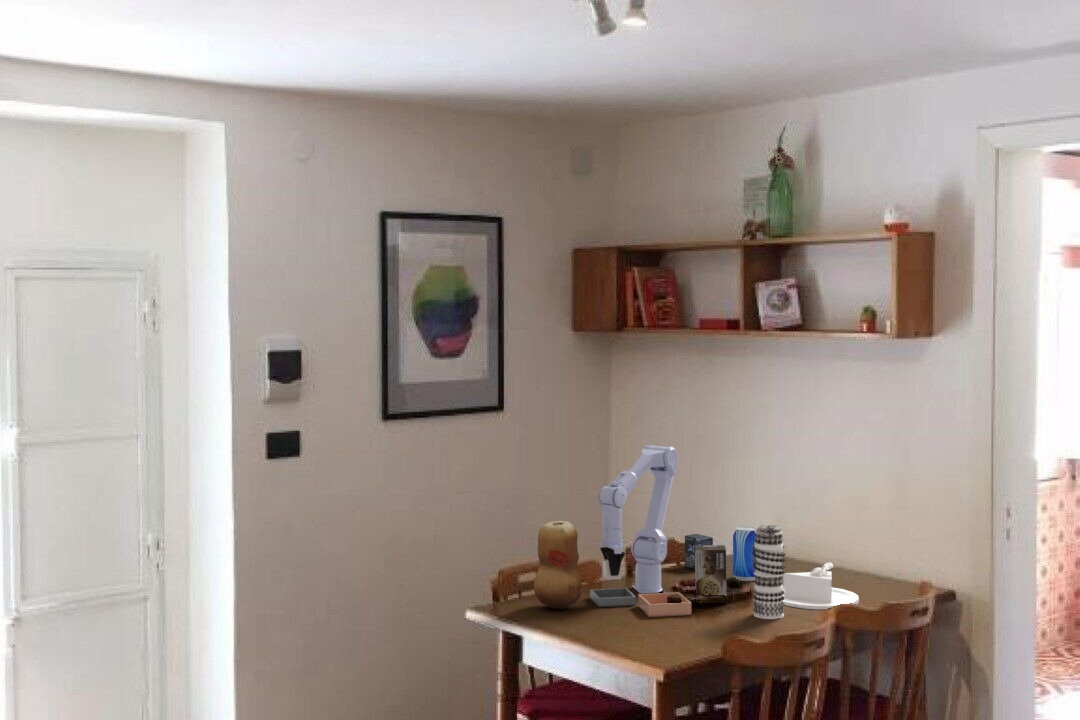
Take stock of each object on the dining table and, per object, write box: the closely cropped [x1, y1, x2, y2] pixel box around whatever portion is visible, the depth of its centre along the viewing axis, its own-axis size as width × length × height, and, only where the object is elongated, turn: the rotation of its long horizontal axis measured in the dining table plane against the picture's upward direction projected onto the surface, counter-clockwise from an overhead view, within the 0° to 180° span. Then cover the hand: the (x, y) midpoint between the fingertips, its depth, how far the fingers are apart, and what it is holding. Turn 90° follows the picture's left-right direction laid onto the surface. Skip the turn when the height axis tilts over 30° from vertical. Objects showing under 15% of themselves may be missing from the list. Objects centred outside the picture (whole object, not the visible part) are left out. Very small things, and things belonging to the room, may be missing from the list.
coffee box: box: [694, 544, 728, 596], centre depth 363 cm, size 9×6×16 cm
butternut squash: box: [533, 520, 583, 610], centre depth 357 cm, size 14×13×25 cm
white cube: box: [602, 559, 622, 581], centre depth 364 cm, size 4×4×5 cm
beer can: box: [732, 525, 758, 582], centre depth 392 cm, size 8×8×16 cm
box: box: [684, 533, 714, 570], centre depth 408 cm, size 8×6×11 cm
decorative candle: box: [752, 524, 786, 620], centre depth 347 cm, size 9×9×25 cm
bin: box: [637, 591, 692, 618], centre depth 353 cm, size 12×12×4 cm
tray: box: [589, 587, 637, 608], centre depth 364 cm, size 11×11×2 cm
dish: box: [782, 561, 860, 610], centre depth 365 cm, size 25×25×11 cm
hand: (612, 573), depth 364 cm, fingers closed on white cube, 4 cm apart
